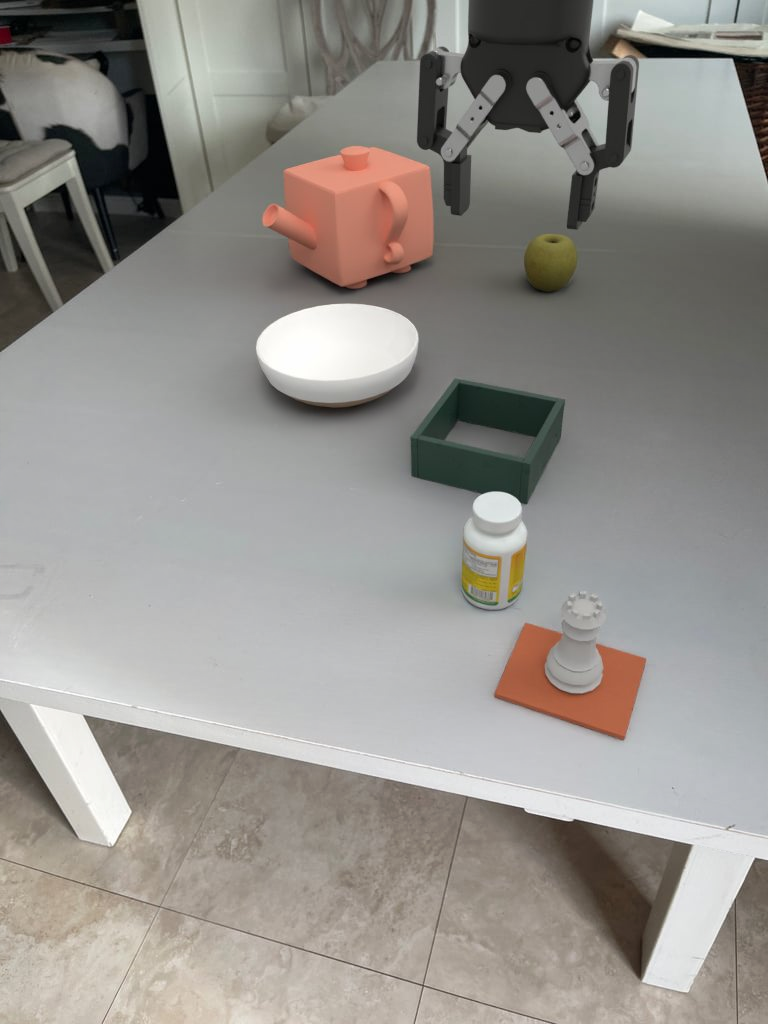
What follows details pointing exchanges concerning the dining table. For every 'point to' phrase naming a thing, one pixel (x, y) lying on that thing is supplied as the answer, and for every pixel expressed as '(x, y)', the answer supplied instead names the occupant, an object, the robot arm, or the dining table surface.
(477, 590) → the supplement bottle
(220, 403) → the dining table surface
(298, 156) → the dining table surface
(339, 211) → the teapot
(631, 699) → the mat
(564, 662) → the rook chess piece
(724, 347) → the dining table surface
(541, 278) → the apple
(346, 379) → the bowl
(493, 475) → the holder
